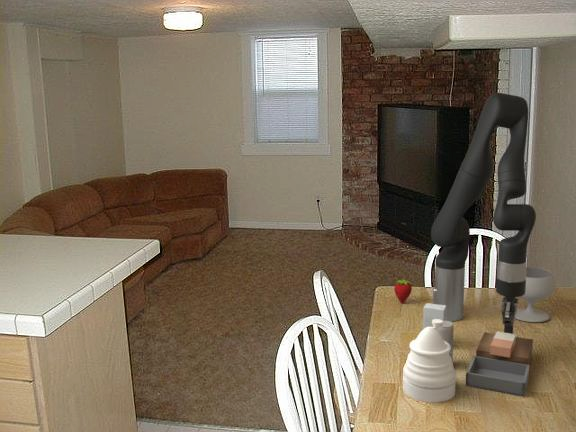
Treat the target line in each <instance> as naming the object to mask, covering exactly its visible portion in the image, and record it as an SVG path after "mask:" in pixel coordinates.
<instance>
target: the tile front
mask: <svg viewBox="0 0 576 432" xmlns="http://www.w3.org/2000/svg"><path fill="white" fill-rule="evenodd" d="M513 342H514V341H508V340H502V339H496V338H494V339H493V341H492V343H491V345H490V354H492V355H498V356H504V357H509V358H510V356H511V354H512V351H513Z"/></svg>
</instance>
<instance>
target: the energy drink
mask: <svg viewBox="0 0 576 432" xmlns="http://www.w3.org/2000/svg"><path fill="white" fill-rule="evenodd" d="M442 321H443V323H442V326H441V327H440V328H439V329H436V330H437V331H438V332H439V333H440V335H441V336H442V338H443V340H444V341H446V342H447V343H449V344H450V346H451V350H450V352H449V355H450V357H451V359H452V363H453V357H454V322H453V321H447V320H442ZM433 327H434V326H433Z"/></svg>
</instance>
